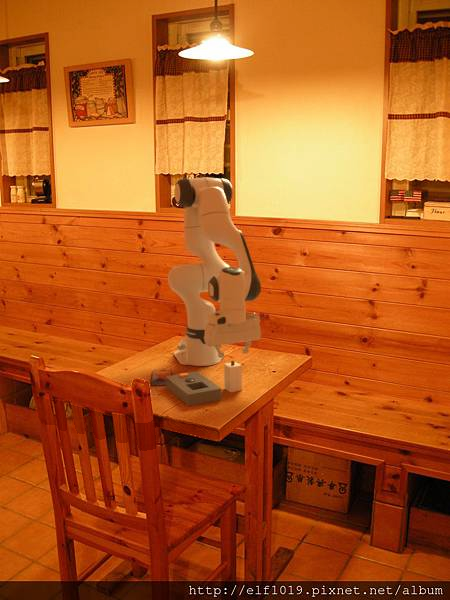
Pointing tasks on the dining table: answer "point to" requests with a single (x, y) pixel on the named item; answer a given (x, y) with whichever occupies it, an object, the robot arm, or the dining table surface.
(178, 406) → the dining table surface
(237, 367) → the block with round knob
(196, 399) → the grey rectangular box
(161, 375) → the smartphone
